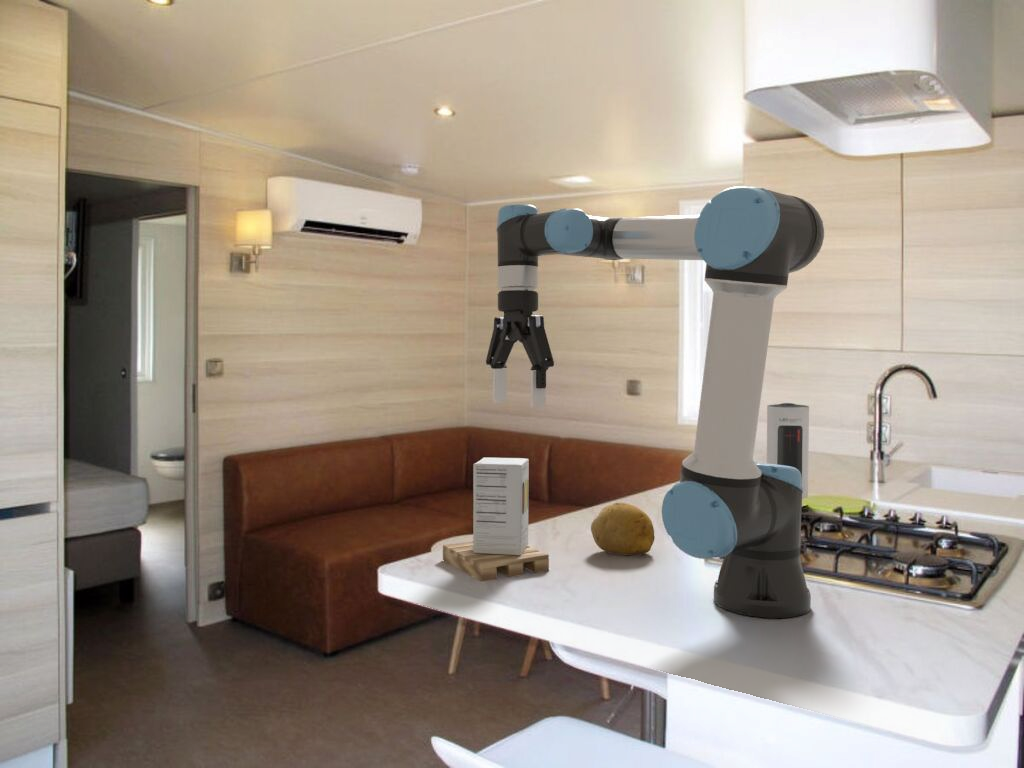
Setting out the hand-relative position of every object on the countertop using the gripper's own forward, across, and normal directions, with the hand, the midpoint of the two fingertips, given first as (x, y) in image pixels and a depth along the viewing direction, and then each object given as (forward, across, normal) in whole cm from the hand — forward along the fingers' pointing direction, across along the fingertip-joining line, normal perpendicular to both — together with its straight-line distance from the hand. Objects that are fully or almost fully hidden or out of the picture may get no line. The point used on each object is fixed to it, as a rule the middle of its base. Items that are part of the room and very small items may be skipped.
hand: (518, 404), depth 160 cm
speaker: (+31, +15, -90) cm, 97 cm away
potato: (+31, -2, -23) cm, 38 cm away
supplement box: (+28, +2, +2) cm, 28 cm away
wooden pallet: (+30, +2, +4) cm, 31 cm away
